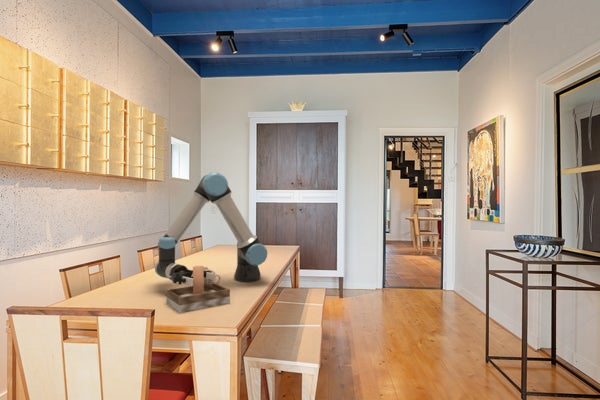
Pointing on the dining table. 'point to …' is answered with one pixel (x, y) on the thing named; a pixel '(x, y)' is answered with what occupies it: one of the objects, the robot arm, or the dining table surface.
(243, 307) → the dining table surface
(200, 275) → the peg
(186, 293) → the box
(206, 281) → the teacup with lid
